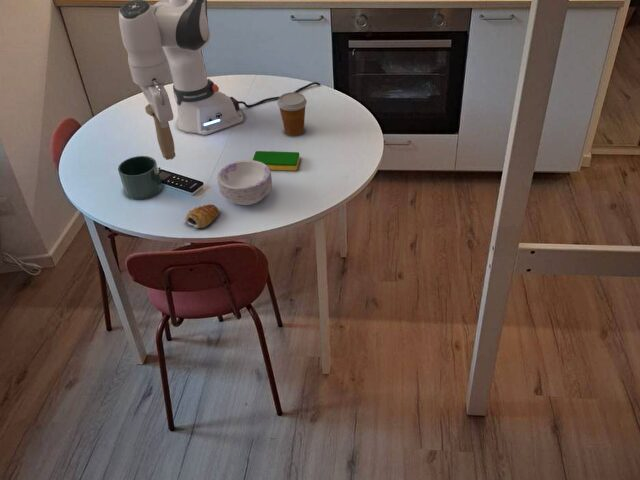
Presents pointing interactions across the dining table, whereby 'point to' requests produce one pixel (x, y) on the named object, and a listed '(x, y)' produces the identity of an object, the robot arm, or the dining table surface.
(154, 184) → the crock
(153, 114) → the handle
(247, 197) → the white bowl
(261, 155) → the dish sponge
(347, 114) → the dining table surface
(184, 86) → the robot arm
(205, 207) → the pastry
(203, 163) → the dining table surface
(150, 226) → the dining table surface
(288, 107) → the disposable coffee cup
